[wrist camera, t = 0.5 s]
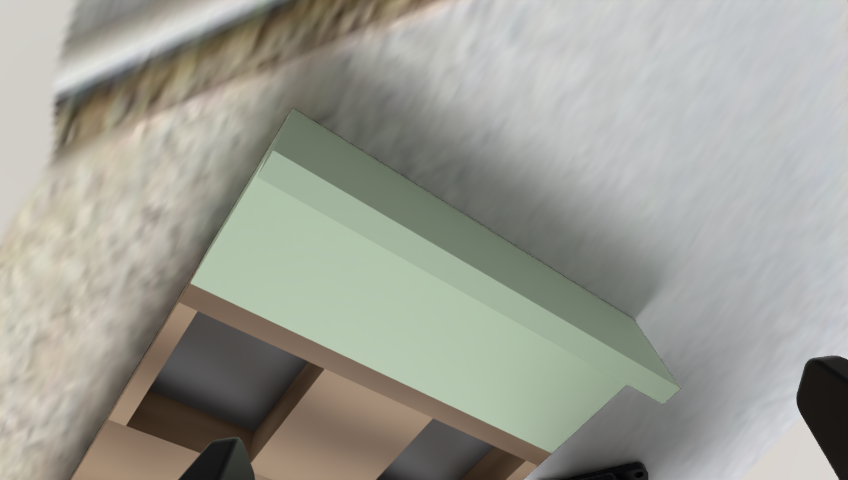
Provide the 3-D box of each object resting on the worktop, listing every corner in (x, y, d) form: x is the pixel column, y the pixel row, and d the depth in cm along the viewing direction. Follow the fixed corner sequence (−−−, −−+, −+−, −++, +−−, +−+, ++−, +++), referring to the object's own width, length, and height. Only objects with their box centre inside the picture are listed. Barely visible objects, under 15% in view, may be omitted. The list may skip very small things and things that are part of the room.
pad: (538, 413, 29) (564, 490, 25) (207, 249, 23) (173, 315, 19) (634, 320, 26) (680, 388, 22) (292, 108, 20) (273, 150, 16)
